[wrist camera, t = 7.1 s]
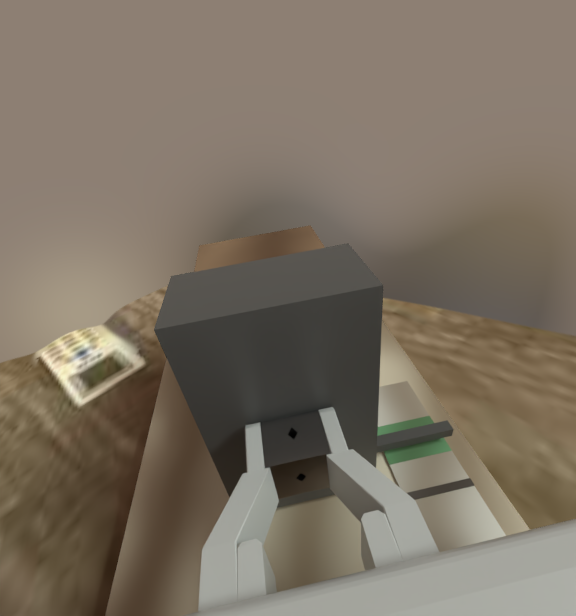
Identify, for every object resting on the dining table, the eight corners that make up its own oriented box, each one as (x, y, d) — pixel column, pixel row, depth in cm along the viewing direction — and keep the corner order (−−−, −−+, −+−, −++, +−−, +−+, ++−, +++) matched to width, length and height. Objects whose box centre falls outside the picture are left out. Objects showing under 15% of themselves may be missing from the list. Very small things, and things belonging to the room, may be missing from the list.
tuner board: (95, 759, 10) (-214, 718, 5) (172, 374, 24) (118, 254, 19) (574, 630, 11) (776, 472, 6) (379, 332, 25) (383, 206, 20)
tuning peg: (238, 516, 14) (153, 329, 8) (233, 349, 23) (193, 208, 17) (467, 463, 14) (532, 256, 9) (373, 321, 23) (377, 176, 18)
